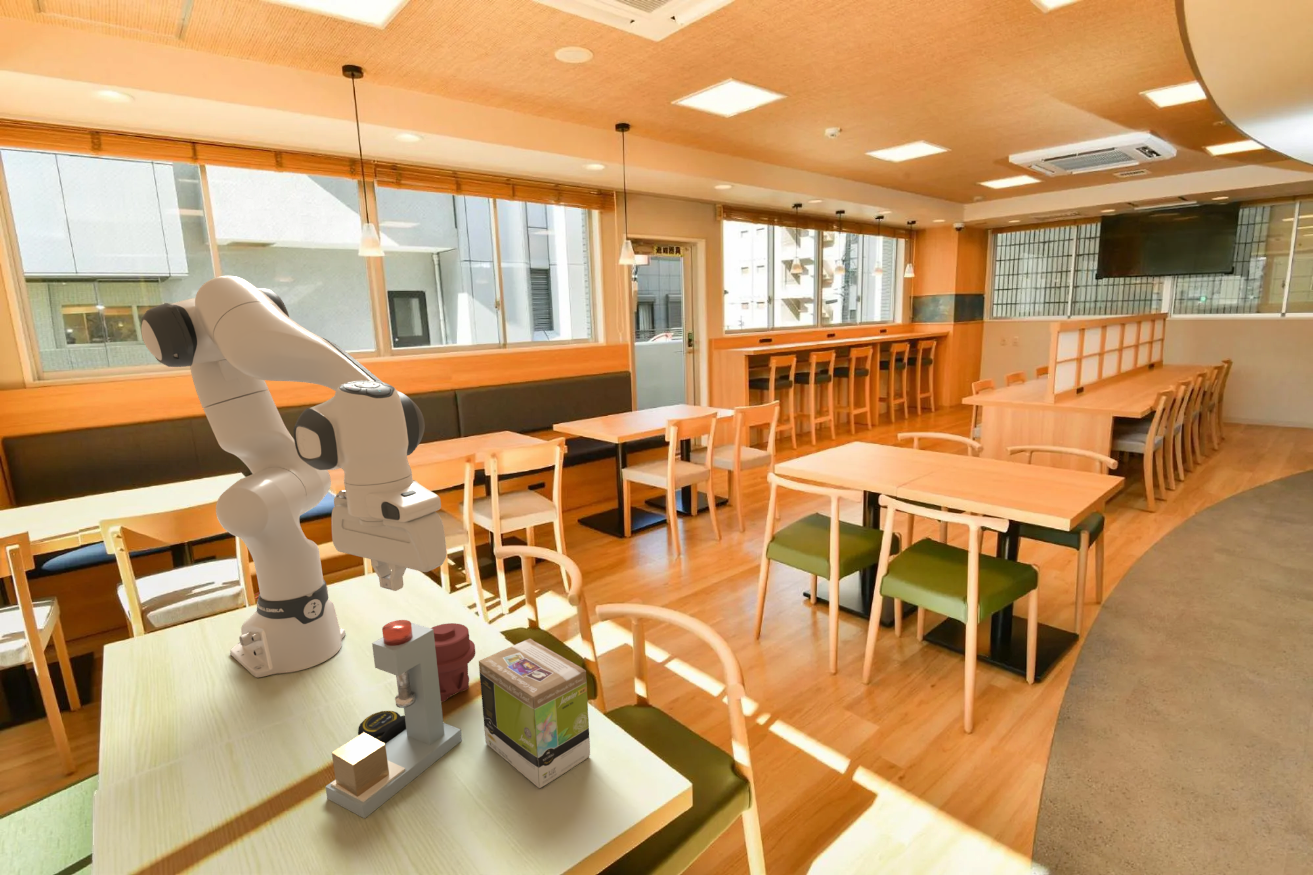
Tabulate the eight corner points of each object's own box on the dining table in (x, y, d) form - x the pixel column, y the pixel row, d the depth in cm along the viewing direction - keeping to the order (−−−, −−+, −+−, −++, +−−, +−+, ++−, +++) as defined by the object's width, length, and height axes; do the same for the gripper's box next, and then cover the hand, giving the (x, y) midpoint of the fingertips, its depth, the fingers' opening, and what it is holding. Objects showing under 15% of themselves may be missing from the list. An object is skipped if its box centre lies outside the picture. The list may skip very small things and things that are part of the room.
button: (385, 705, 98) (376, 629, 95) (407, 691, 101) (398, 617, 99) (404, 713, 96) (394, 635, 93) (425, 698, 99) (417, 623, 97)
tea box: (593, 756, 100) (588, 668, 97) (539, 791, 93) (531, 698, 90) (536, 715, 110) (530, 634, 107) (483, 744, 103) (475, 659, 100)
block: (336, 783, 92) (331, 752, 91) (368, 762, 96) (363, 732, 95) (357, 796, 89) (352, 764, 88) (389, 774, 94) (385, 743, 93)
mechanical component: (488, 678, 121) (461, 710, 112) (439, 673, 123) (409, 705, 114) (482, 617, 119) (455, 645, 109) (432, 613, 121) (401, 640, 111)
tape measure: (379, 761, 100) (377, 740, 99) (350, 748, 103) (347, 727, 102) (415, 735, 106) (412, 715, 105) (386, 723, 109) (383, 703, 108)
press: (327, 798, 92) (307, 671, 88) (426, 726, 108) (414, 614, 104) (364, 818, 89) (346, 686, 85) (461, 740, 104) (450, 625, 100)
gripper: (314, 494, 94) (327, 583, 97) (412, 512, 84) (423, 610, 87) (352, 483, 100) (363, 568, 102) (449, 498, 90) (458, 592, 93)
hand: (392, 587), depth 95 cm, fingers closed
